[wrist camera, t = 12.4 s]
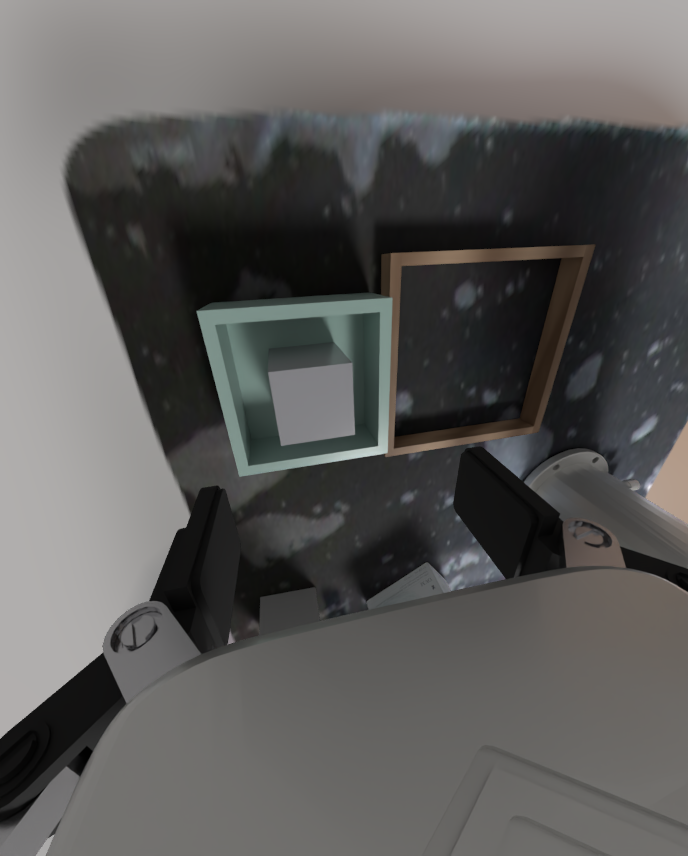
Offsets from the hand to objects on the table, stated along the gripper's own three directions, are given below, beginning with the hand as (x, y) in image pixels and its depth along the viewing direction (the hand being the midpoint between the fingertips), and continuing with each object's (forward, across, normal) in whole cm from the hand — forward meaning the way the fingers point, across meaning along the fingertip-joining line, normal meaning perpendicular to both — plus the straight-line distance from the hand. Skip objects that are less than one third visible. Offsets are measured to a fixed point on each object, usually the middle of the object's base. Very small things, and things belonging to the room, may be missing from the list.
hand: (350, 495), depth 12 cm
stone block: (+14, +1, 0) cm, 14 cm away
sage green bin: (+15, +1, 0) cm, 15 cm away
